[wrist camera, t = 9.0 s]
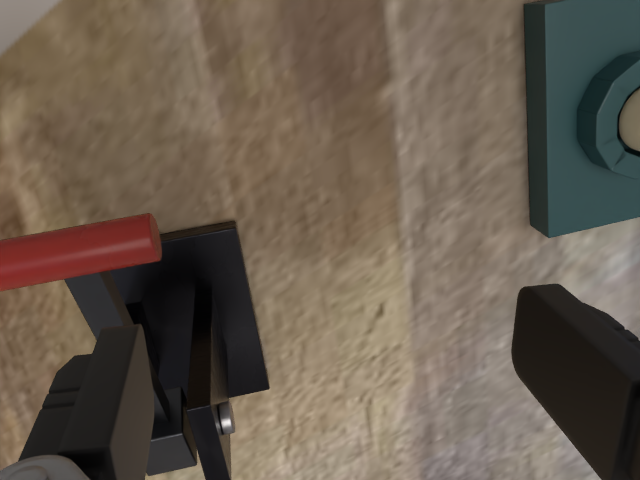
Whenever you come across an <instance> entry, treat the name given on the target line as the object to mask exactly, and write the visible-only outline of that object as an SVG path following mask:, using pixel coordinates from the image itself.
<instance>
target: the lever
mask: <svg viewBox="0 0 640 480" xmlns="http://www.w3.org/2000/svg"><path fill="white" fill-rule="evenodd" d="M161 257H162V247H161V240H160V234H159V230H158V227H157V223H156V221H155V218H154V217H153V215H152V214H150V213H147V214H141V215H135V216H130V217H124V218H119V219H113V220H108V221H102V222H97V223H91V224H86V225H80V226H75V227H69V228H64V229H58V230H53V231H47V232H42V233H36V234H31V235H25V236H20V237H14V238H9V239H3V240H0V291H5V290H10V289H15V288H21V287H26V286H31V285H36V284H42V283H47V282H52V281H57V280H63V279H64V280H65V282H66V284H67V286H68V288H69V289H70V291H71V293H72V295H73V297H74V299H75V301H76V302H77V304H78V306H79V308H80V310H81V312H82V314H83V315H84V317H85V319H86V321H87V323H88V325H89V327H90V328H91V330H92V332H93V334H94V336H95V338H96V340H97V339H98V337H99V334H100V331H101V329H102V328H106V327H116V326H126V325H134V324H133V321H132V319H131V317H130V315H129V313H128V310H127V308H126V306H125V304H124V302H123V299H122V297H121V295H120V293H119V291H118V288H117V286H116V284H115V282H114V280H113V277H112V275H111V273H110V270H115V269H121V268H126V267H131V266H137V265H142V264H147V263H152V262H158V261H160V260H161ZM148 360H149V367H150V373H151V379H152V386H153V393H154V422H153V429H152V436H151V442H150V449H149V455H148V462H147V468H146V473H147V475H148V476H152V475H156V474H161V473H165V472H170V471H174V470H179V469H183V468H187V467H192V466H196V465H197V447H196V444H195V440H194V437H193V433H192V430H191V426H190V423H189V419H188V416H187V412H186V405H187V398H186V396H185V394H184V391H183V389H182V387H176V388H171V389H166V390H163V387H162V385H161V383H160V381H159V379H158V376H157V374H156V372H155V370H154V368H153V365H152V363H151V361H150V359H149V357H148Z"/></svg>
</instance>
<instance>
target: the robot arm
mask: <svg viewBox="0 0 640 480" xmlns="http://www.w3.org/2000/svg"><path fill="white" fill-rule="evenodd" d="M511 351H512V361H513V365H514V368H515V371H516V373H517V375H518V377H519V378H520V379H521V381H522V382H523V383H524V384H525V386H526V387H527V388H528V389H529V390H530V392H531V393H532V394H533V395H534V397H535V398H536V399H537V400H538V402H539V403H540V404H541V405H542V407H543V408H544V409H545V410H546V411H547V413H548V414H549V415H550V416H551V418H552V419H553V420H554V421H555V423H556V424H557V425H558V426H559V428H560V429H561V430H562V431H563V432H564V434H565V435H566V436H567V437H568V439H569V440H570V441H571V442H572V444H573V445H574V446H575V447H576V449H577V450H578V451H579V452H580V454H581V455H582V456H583V457H584V458H585V460H586V461H587V462H588V463H589V465H590V466H591V467H592V468H593V470H594V471H595V472H596V473H597V475H598V476H599V477H600V478H601V479H602V480H640V341H639V340H638V337H636V336H635V335H634V334H633V333H631V332H630V331H629V330H625V329H624V326H622V325H621V324H620V323H619V322H617V321H616V320H615V319H614V318H612V317H611V316H610V315H609V314H607V313H605V312H603V311H601V310H598V309H596V308H594V307H592V306H590V305H587V304H585V303H582V302H581V301H580V300H578V299H577V298H576V297H575V296H574V295H572V294H571V293H570V292H569V291H567V290H566V289H565V288H564V287H563V286H561V285H559V284H547V285H537V286H527V287H523V288H522V289H521V290H520V292H519V294H518V298H517V306H516V315H515V323H514V332H513V340H512V350H511ZM153 422H154V393H153V386H152V379H151V373H150V367H149V360H148V354H147V348H146V341H145V335H144V330H143V327H142V325H141V324H136V325H126V326H116V327H106V328H102V329H101V331H100V334H99V337H98V339H97V342H96V345H95V348H94V351H93V353H92V354H87V355H77V356H74V357H73V358H72V359H71V360H70V361H69V362H68V363H67V364H65V365H64V366H63V367H62V368H61V369H60V370H59V371H58V372H57V373H56V375H55V378H54V380H53V382H52V385H51V387H50V389H49V394H47V396H46V398H45V401H44V403H43V405H42V410H40V412H39V414H38V417H37V419H36V421H35V424H34V426H33V428H32V431H31V433H30V435H29V437H28V440H27V442H26V444H25V447H24V449H23V451H22V453H21V456H20V458H19V460H18V462H16V463H14V464H12V465H10V466H8V467H6V468H5V469H3V470H1V471H0V480H145V475H146V468H147V462H148V455H149V449H150V442H151V436H152V429H153Z"/></svg>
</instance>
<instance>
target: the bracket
mask: <svg viewBox="0 0 640 480" xmlns="http://www.w3.org/2000/svg"><path fill="white" fill-rule="evenodd" d="M160 240H161V247H162V257H161V260H160V261H158V262H152V263H147V264H142V265H137V266H131V267H126V268H121V269H115V270H110V273H111V275H112V277H113V280H114V282H115V284H116V286H117V288H118V291H119V293H120V295H121V297H122V299H123V302H124V304H125V306H126V308H127V310H128V313H129V315H130V317H131V319H132V321H133V324H134V325H136V324H141V325H142V327H143V330H144V335H145V341H146V348H147V354H148V357H149V359H150V361H151V363H152V365H153V368H154V370H155V372H156V374H157V376H158V379H159V381H160V383H161V385H162V387H163V390H166V389H171V388H176V387H182V389H183V391H184V394H185V396H186V398H187V405H186V412H187V416H188V419H189V423H190V426H191V430H192V433H193V437H194V440H195V444H196V447H197V451H198V454H199V458H200V461H201V465H202V468H203V472H204V476H205V479H206V480H231V452H230V434H231V433H234V432H235V421H234V415H233V409H232V405H231V403H230V401H229V398H231V397H236V396H240V395H245V394H250V393H254V392H259V391H263V390H268V389H269V388H270V387H269V379H268V374H267V369H266V365H265V360H264V355H263V350H262V345H261V340H260V336H259V331H258V326H257V321H256V316H255V312H254V307H253V302H252V297H251V292H250V288H249V283H248V278H247V273H246V268H245V264H244V259H243V254H242V249H241V244H240V240H239V235H238V230H237V225H236V222H235V221H231V222H226V223H220V224H215V225H210V226H204V227H199V228H194V229H188V230H183V231H177V232H172V233H167V234H161V235H160Z"/></svg>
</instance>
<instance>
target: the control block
mask: <svg viewBox="0 0 640 480" xmlns="http://www.w3.org/2000/svg"><path fill="white" fill-rule="evenodd" d="M524 14H525V49H526V84H527V118H528V153H529V188H530V222H531V226H532V227H534V228H535V229H536V230H538V231H539V232H541V233H542V234H544V235H545V236H546V237H548V238H551V237H556V236H560V235H564V234H568V233H573V232H577V231H581V230H586V229H590V228H594V227H599V226H603V225H607V224H611V223H616V222H620V221H624V220H629V219H633V218H637V217H640V151H637V150H634V149H632V148H630V147H628V146H627V145H626V144H625V143H624V141H623V140H622V138H621V136H620V133H619V117H620V113H621V110H622V108H623V106H624V104H625V103H626V101H627V100H628V98H629V97H630V96H631V95H632V94H633V93H634V92H635V91H637V90H638V89H639V88H640V0H543V1H537V2H532V3H527V4H524Z"/></svg>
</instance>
